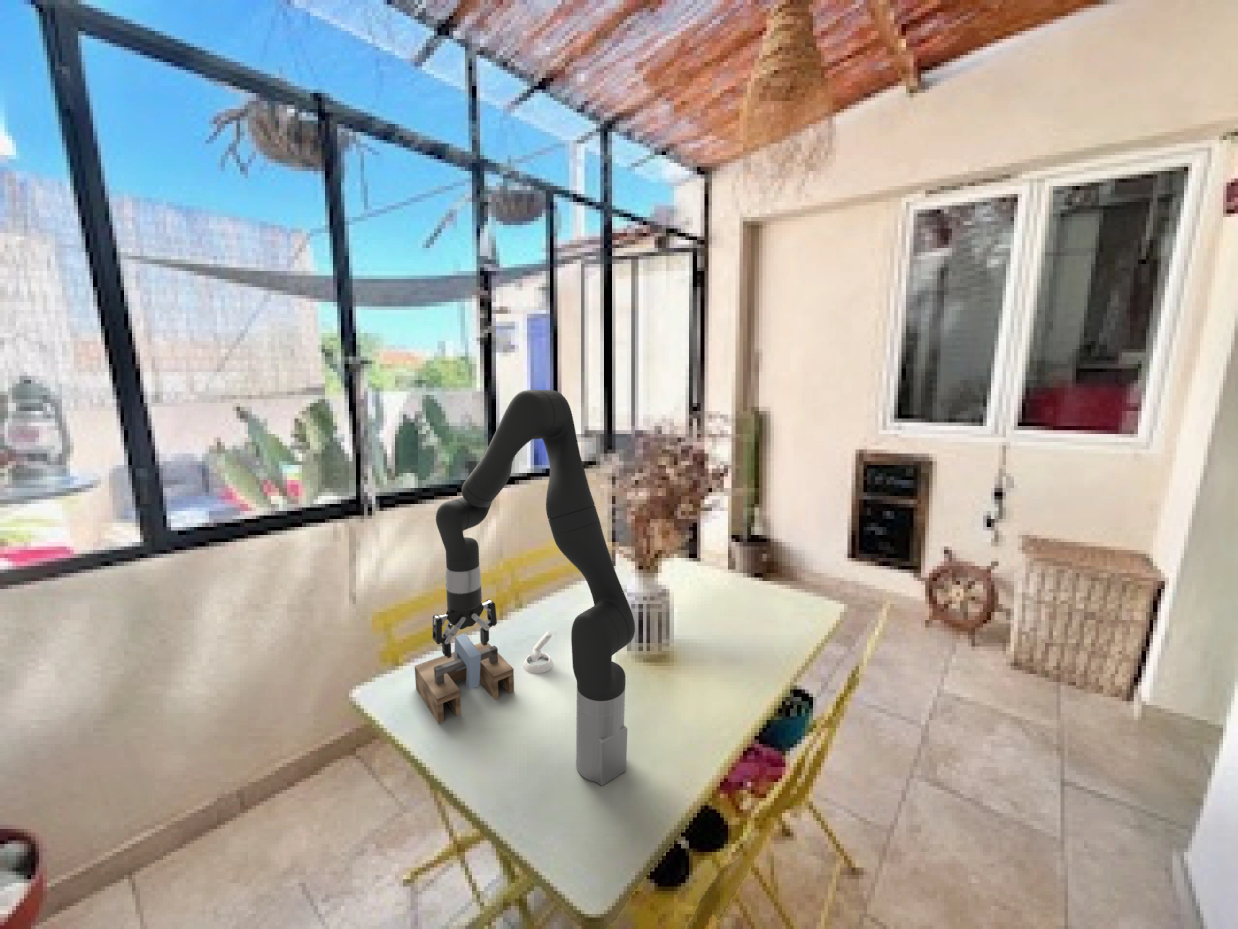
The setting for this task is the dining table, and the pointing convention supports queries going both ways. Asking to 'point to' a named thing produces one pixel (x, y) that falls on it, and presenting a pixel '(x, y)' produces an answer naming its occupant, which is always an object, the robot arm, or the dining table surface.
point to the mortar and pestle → (538, 654)
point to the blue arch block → (468, 659)
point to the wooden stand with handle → (441, 677)
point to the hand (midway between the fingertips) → (466, 650)
